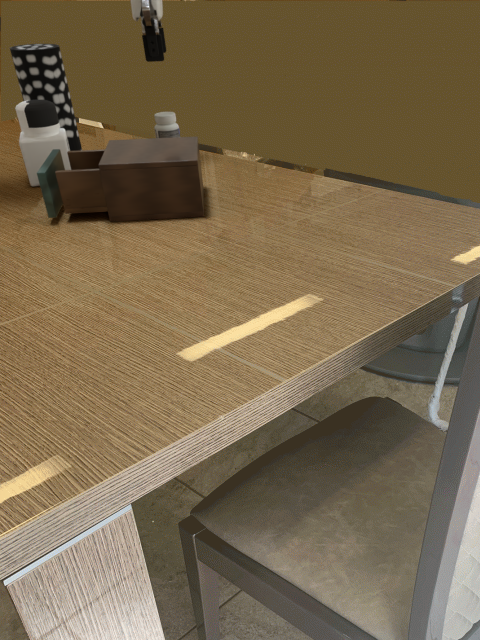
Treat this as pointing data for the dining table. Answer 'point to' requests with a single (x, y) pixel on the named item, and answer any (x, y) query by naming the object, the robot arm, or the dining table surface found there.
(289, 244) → the dining table surface
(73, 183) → the drawer
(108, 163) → the cabinet
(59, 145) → the container
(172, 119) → the pill bottle
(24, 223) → the dining table surface
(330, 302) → the dining table surface
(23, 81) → the spotted tube
